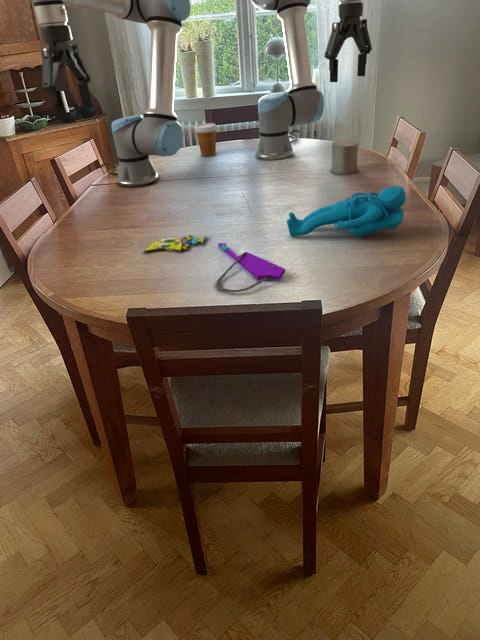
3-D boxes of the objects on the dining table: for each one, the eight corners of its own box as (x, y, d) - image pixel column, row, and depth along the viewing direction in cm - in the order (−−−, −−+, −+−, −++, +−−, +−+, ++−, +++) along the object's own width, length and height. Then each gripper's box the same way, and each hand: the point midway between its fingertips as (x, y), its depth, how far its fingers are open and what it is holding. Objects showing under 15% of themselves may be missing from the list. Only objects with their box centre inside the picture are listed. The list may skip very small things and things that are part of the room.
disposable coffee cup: (194, 156, 208) (190, 127, 202) (203, 151, 216) (200, 122, 209) (213, 157, 205) (210, 127, 199) (222, 151, 212) (220, 122, 206)
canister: (352, 166, 179) (353, 138, 174) (360, 172, 172) (361, 144, 166) (328, 168, 179) (329, 141, 173) (335, 175, 171) (336, 147, 166)
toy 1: (199, 248, 125) (143, 249, 127) (199, 251, 125) (144, 252, 127) (206, 233, 133) (154, 234, 135) (206, 236, 133) (154, 237, 136)
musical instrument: (259, 304, 102) (301, 255, 114) (257, 296, 101) (299, 248, 113) (174, 288, 115) (219, 245, 127) (171, 280, 114) (217, 238, 126)
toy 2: (290, 200, 134) (401, 173, 124) (299, 235, 139) (407, 211, 129) (281, 224, 121) (406, 195, 110) (292, 261, 126) (412, 237, 116)
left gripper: (37, 26, 114) (62, 120, 126) (91, 21, 134) (108, 103, 146) (11, 28, 117) (38, 121, 128) (68, 23, 136) (87, 104, 148)
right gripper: (332, 4, 138) (330, 85, 150) (386, -1, 151) (380, 74, 162) (313, 5, 144) (312, 84, 155) (367, 0, 156) (363, 73, 167)
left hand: (75, 112), depth 137 cm, fingers open, 13 cm apart
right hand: (347, 79), depth 159 cm, fingers open, 13 cm apart
